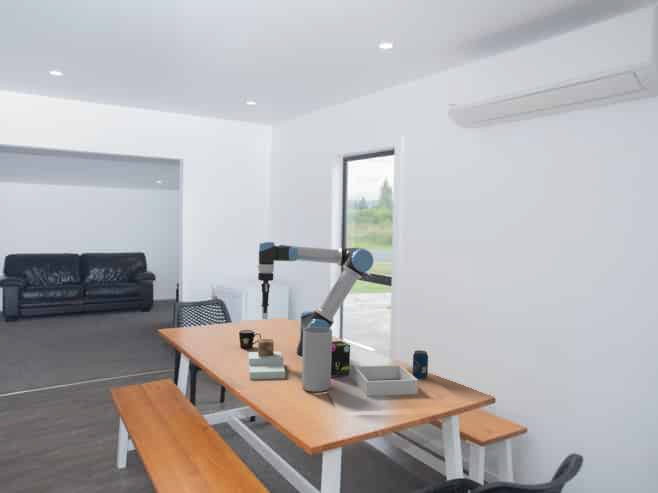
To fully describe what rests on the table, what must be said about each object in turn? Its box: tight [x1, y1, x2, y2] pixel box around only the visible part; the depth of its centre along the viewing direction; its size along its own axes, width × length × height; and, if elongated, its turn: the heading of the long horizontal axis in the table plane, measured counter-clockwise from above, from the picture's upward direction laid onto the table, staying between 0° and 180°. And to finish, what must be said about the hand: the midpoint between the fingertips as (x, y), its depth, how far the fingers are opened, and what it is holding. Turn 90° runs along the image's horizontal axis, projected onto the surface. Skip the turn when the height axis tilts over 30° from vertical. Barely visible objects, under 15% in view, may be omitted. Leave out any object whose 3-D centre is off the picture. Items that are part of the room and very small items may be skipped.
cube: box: [257, 338, 275, 357], centre depth 234 cm, size 7×7×7 cm
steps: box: [247, 351, 286, 380], centre depth 229 cm, size 16×23×6 cm
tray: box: [352, 364, 419, 397], centre depth 211 cm, size 22×22×6 cm
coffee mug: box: [238, 329, 262, 350], centre depth 269 cm, size 12×9×10 cm
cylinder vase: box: [301, 327, 333, 393], centre depth 207 cm, size 12×12×25 cm
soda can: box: [412, 350, 429, 380], centre depth 226 cm, size 7×7×12 cm
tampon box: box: [331, 340, 351, 379], centre depth 227 cm, size 11×9×15 cm
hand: (264, 318), depth 243 cm, fingers closed
